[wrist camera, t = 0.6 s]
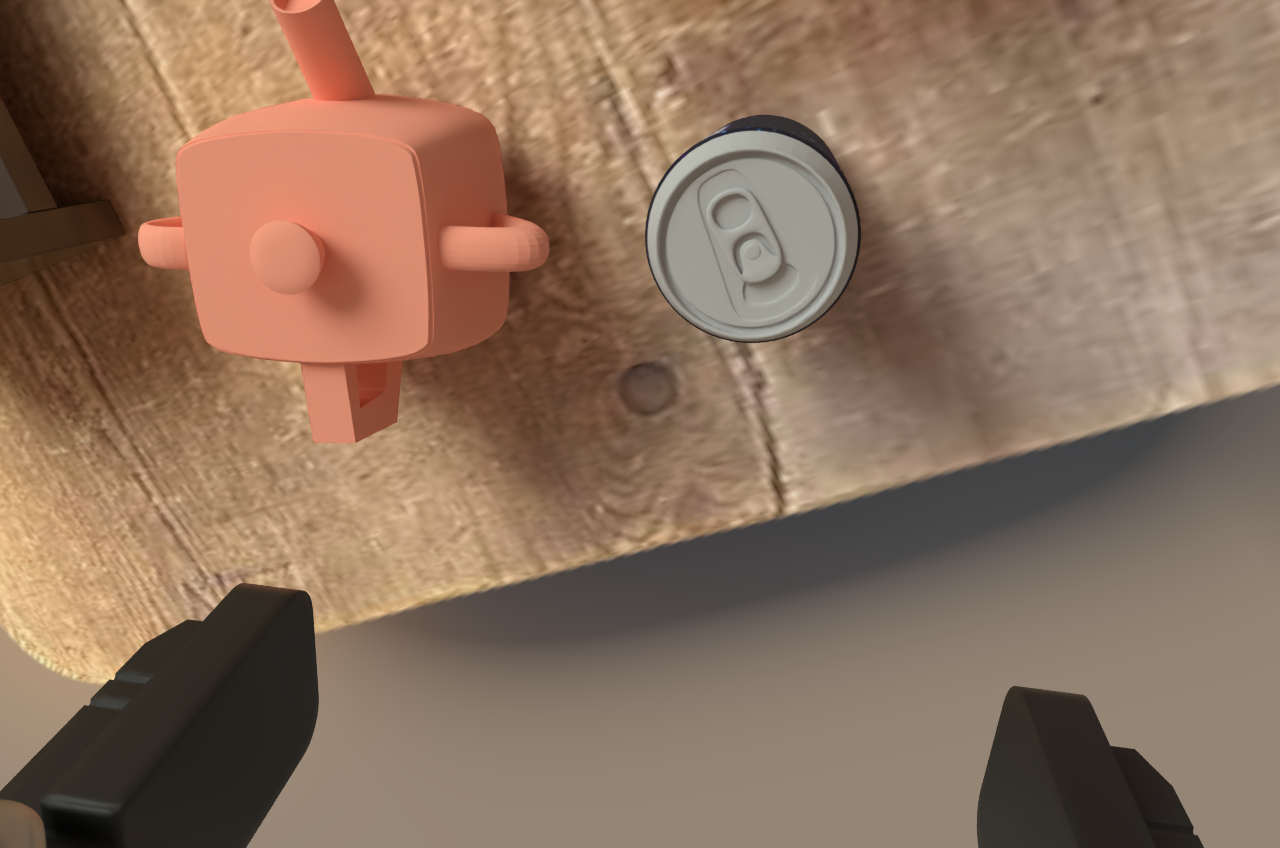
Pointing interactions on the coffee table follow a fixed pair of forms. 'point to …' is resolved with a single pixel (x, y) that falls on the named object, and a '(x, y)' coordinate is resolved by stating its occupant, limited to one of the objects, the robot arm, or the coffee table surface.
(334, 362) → the teapot
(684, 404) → the coffee table surface
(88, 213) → the shelf
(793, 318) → the beverage can
